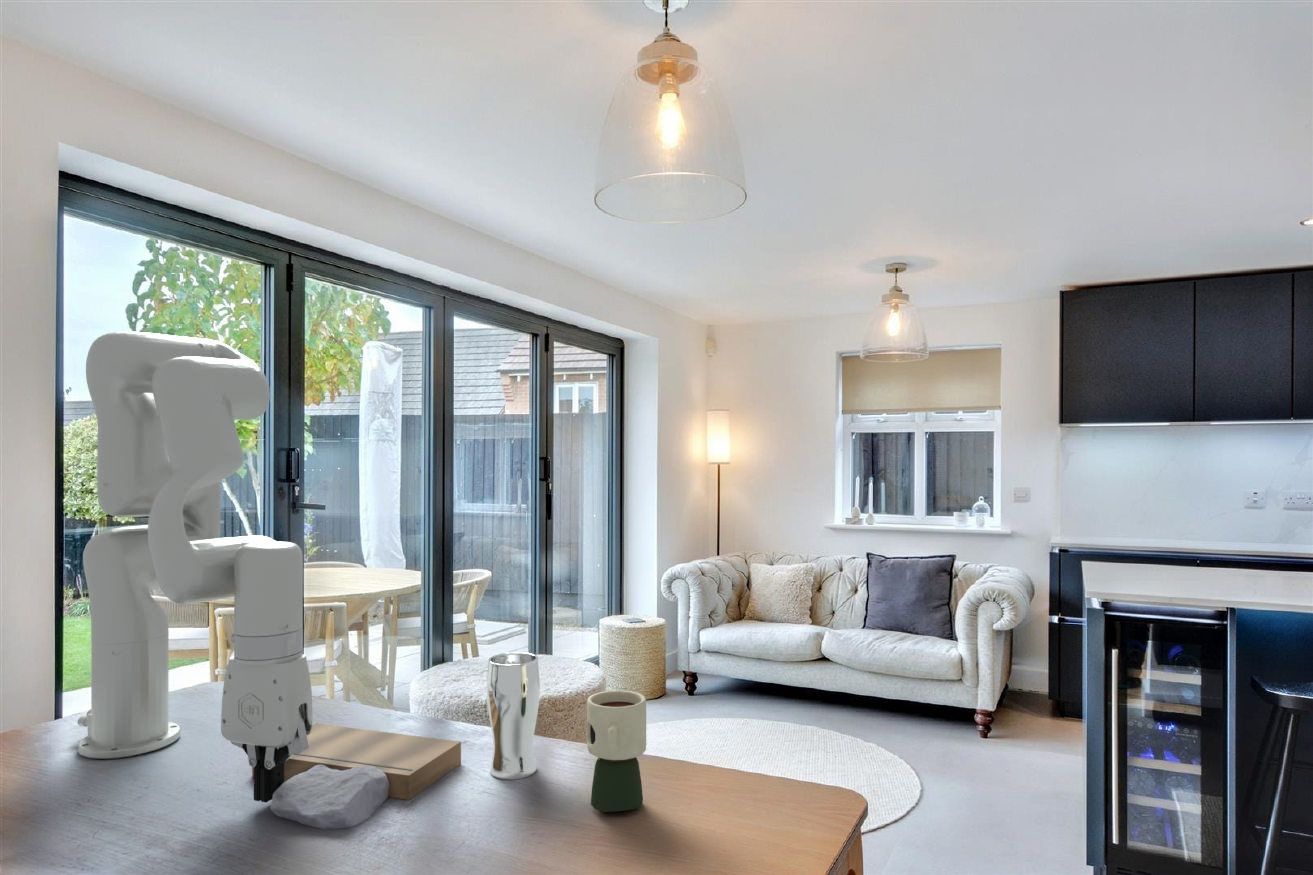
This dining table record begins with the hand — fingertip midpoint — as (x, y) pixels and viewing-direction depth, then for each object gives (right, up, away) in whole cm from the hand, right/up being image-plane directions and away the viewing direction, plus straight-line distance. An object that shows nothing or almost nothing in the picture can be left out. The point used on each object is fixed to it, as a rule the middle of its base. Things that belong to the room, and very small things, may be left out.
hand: (269, 796), depth 100 cm
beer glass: (+28, -1, +11) cm, 30 cm away
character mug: (+42, -1, 0) cm, 42 cm away
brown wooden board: (+7, -1, +11) cm, 13 cm away
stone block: (+7, -2, -1) cm, 8 cm away
